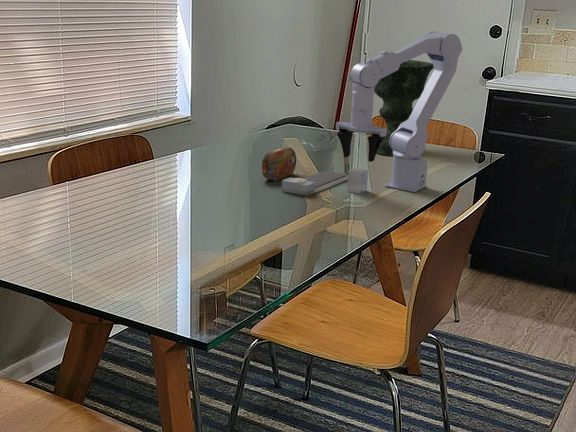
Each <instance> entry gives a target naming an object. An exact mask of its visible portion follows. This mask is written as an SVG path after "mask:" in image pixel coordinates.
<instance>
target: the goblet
mask: <svg viewBox="0 0 576 432" xmlns="http://www.w3.org/2000/svg"><path fill="white" fill-rule="evenodd" d="M432 70H434V66H433V63H432V62H427V61H421V60H412V59H410V60H408V61H406V62H404V63H401V64H400V67H399V69H398V70H397V71H395V72H393V73H391V74H389V75H387V76H385V77H384V78H382V79H380V80H379V82H378V83H377V85H376V86H374V94H375V95H377V96H378V97H379V98H381V99H382V102H383V104H382V106H381V107H380V109H379V116H380V117H381V118H382V119H383V120H384V122H385V123H386V129H387V132H386V136H384V139H383V140H382V142H381V144H380V146H379V148H378V150H377V153H376V154H378V155H382V156H388V157H393V149H392V148H391V147H390V144H389V139H390V136H391V135H392V133H393V132H394V131H396V130H397V129H398V127H399V125H400V124H401V123H403V122H405V121H406V120H408V119H409V117H410V115H411V113H412V111H413V109H414V107H413V103H414V101H417V100H419V98H420V96H421V94H422V92H423V90H424V89H425V87H426V84H427V83H426V82H427V79H428V76H429V75H430V73H431V71H432ZM367 147H368V149H369V146H367Z"/></svg>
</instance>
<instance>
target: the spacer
mask: <svg viewBox="0 0 576 432" xmlns="http://www.w3.org/2000/svg"><path fill="white" fill-rule="evenodd" d="M347 175H348V180H347V189H346V192H347V193H353V194H358V195H361V194H364V193H365V192H368V178H369V177H368V176H369V170H368V169H364V168H358V167H353V168H351V169H349V170H348V171H347Z"/></svg>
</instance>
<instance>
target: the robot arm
mask: <svg viewBox="0 0 576 432" xmlns="http://www.w3.org/2000/svg"><path fill="white" fill-rule="evenodd" d="M462 51H463V45H462V41H461V39H460V37H459V36H458V35H457V34H455V33H444V32H438V31H434V30H433V31H430V32H428V33H427V34H423V35H421V36H420V38H417V39H416V40H414V41H413V42H410V43H409V44H407V45H405V46H404V47H402V48H400V49H399V50H397V51H395V52H394V51H392V50H383V51H381V52H380V55H378V56H376V57H373V58H368V59H366V62H365V63H360V62H359V63H357V64H355V65H354V66H353V67H352V68H351V71H350V73H348V78H349V81H350V82H351V84H352V86H351V87H352V88H351V89H352V93H351V112H350V122H347V121H345V122H344V121H337V122H335V130H336V131H337V132H336V136H337V137H338V140H339V142H340V145H341V148H342V152H343V158H348V157H350V156H351V146H352V138H353V134H354V133H360V134H366V135H368V136H367V141H368V142H367V143H368V147H369V148H368V159H367V160H368V163H371V162H374V161H375V158H376V155H377V154H378V153H377V150H378V148H379V146H380V144H381V142H382V140H383V139H384V136H386V132H387V128H383V127H380V126H377V125H376V126H375V125H373V124H372V123H373V112H374V98H375V97H374V96H375V92H374V86H376V85H377V83H378V82H379V80H380V79H382V78H384V77H385V76H387V75H389V74H391V73H393V72H395V71H397V70H398V69H399V67H400V64H401V63H404V62H406V61H408V60H412V59H415V58H418V57H419V56H421V55H423V54H426V55H427V57H428V58H429V60H430V62H431V63H432V64H433V66H434V68H433V71H432V73H431V75H430V78H429V79H428V81H427V83H426V84H425V86H424V90H423V92H422V94H421V96H420V98H418V99H417V102H416V104H415V105H414V107H413V111H412V113H411V115H410V117H409V119H408V120H406V121H405V122H403V123H401V124H400V125H399V127H398V129H397V130H396V131H394V132H393V133H392V135H391V136H390V139H389V144H390V147H391V148H392V149H393V156H392V165H391V166H392V167H391V178H390V179H391V180H390V182H388V183H385V185H384V186H385V187H388V188H393V189H398V190H403V191H408V192H414V193H416V192H419V191H420V190H423V189H425V188H426V187H427V186H428V185H427V175H428V174H427V173H428V162H427V160H426V159H424V158H421V155H423V153H424V151H425V149H426V143H427V140H428V138H429V135H428V134H429V133H428V131H427V127H428V125H429V123H430V121H431V119H432V117H433V115H434V113H435V111H436V109H437V108H438V106H439V104H440V102H441V100H442V99H443V97H444V95H445V93H446V91H447V89H448V87H449V85H450V83H451V81H452V80H453V78H454V76H455V74H456V71H457V69H458V68H457V65H458V60H459V57H460V55H461V53H462Z"/></svg>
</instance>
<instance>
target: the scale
mask: <svg viewBox="0 0 576 432" xmlns="http://www.w3.org/2000/svg"><path fill="white" fill-rule="evenodd" d="M281 181H282V182H281V191H282V192H285V193H290V194H293V195H294V194H295V195H299V196H303V195H306V196H305V197H308V196H311V195H314V194H315V193H318V192H320V191H323V190H326V189H328V188H331V187H333V186H336V185H338V184H340V183H342V182H345V181H348V173H347V174H345V173H341V172H336V171H330V170H323V171H320V172H318V173H315V174H311V175H309V176H306V177H304V178H301V177H296V178H295V177H286V178H284V179H282V180H281ZM307 195H308V196H307Z"/></svg>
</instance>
